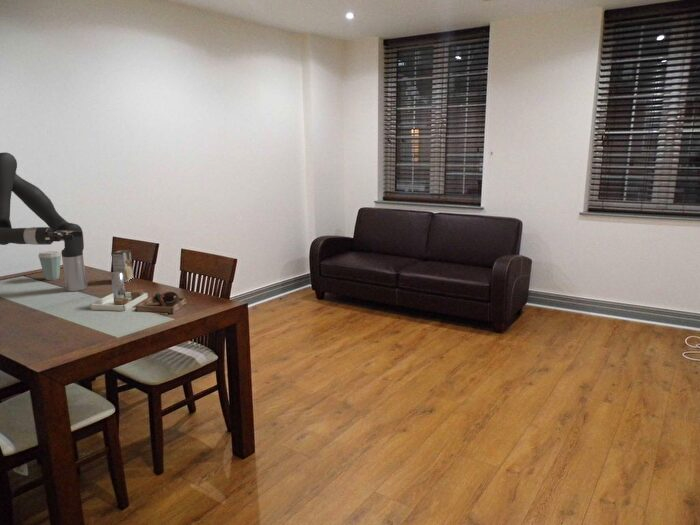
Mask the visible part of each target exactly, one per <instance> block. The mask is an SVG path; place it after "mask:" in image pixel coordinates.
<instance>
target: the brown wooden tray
mask: <svg viewBox="0 0 700 525" xmlns="http://www.w3.org/2000/svg"><path fill="white" fill-rule="evenodd" d="M173 299H176V296H174V298H173ZM178 299H179V300H180V302H178V303H177V304H176V305H174V306H173V307H162V306H157V305H156V306H153V305H151V306H149V305H150V304H152V303H153V302H156V303H158V302H157V301H156V300H155V299H154V296H150V297H148V298H146V299H145V300H143V301H141V302H140V303H138V304H136V305H135V311H136V312H155V313H157V312H158V313H174V312H175V311H176V310H178V309H179V308H180V307H182V306H183V305H184V304H186V303H187V304H188V298H187V297H179V298H178ZM182 308H183V307H182ZM178 311H179V310H178ZM175 313H176V312H175ZM175 313H174V314H175Z"/></svg>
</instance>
